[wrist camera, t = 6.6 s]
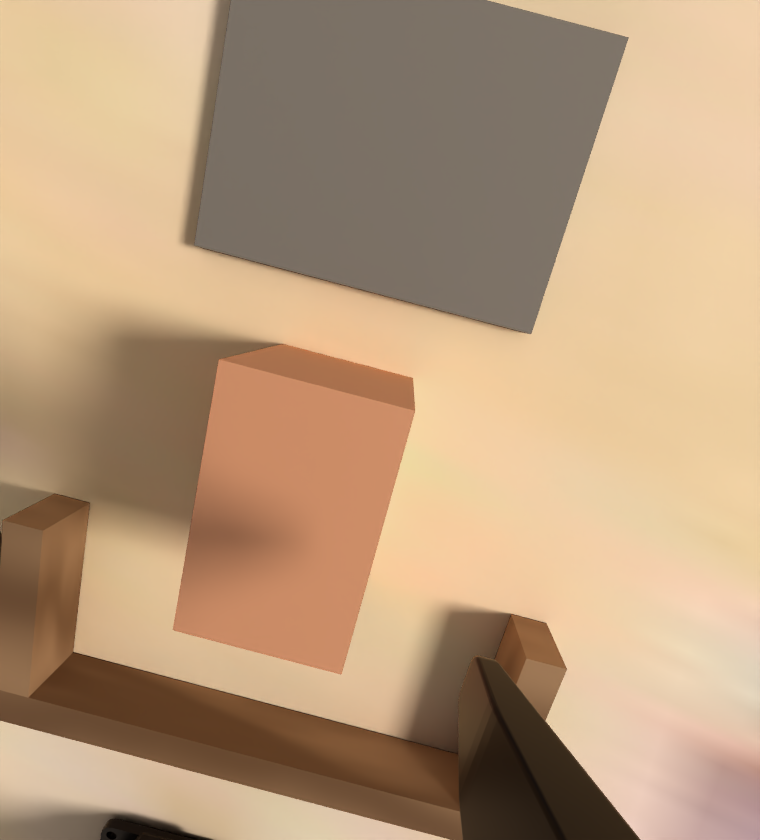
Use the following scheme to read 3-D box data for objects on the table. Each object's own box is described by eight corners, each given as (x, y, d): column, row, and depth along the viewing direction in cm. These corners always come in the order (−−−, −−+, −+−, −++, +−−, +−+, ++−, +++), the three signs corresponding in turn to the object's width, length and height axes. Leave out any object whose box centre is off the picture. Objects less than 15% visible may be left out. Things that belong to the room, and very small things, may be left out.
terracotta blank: (361, 563, 19) (341, 674, 13) (245, 533, 19) (173, 630, 13) (412, 377, 17) (414, 411, 11) (283, 343, 17) (218, 359, 11)
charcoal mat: (526, 333, 16) (531, 334, 16) (202, 247, 16) (194, 245, 16) (619, 48, 14) (628, 37, 14) (247, -49, 14) (240, -65, 14)
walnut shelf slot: (481, 788, 21) (490, 850, 19) (38, 671, 21) (-10, 717, 19) (546, 623, 19) (566, 669, 17) (54, 493, 19) (2, 520, 17)
